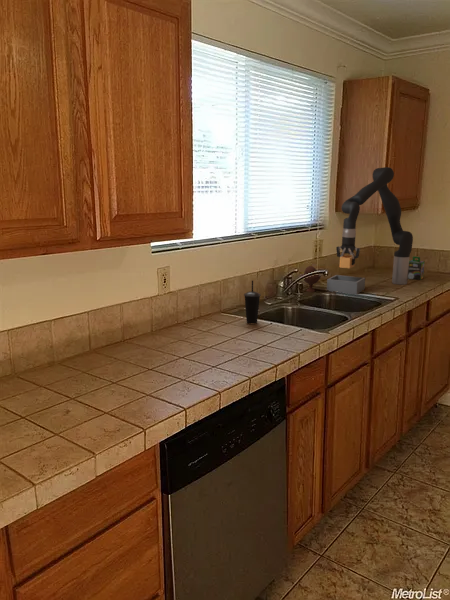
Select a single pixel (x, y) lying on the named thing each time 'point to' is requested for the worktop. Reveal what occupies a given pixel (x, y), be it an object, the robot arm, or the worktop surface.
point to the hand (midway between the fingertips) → (347, 264)
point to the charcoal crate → (346, 284)
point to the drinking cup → (252, 305)
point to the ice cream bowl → (311, 278)
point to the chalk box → (416, 269)
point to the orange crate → (346, 261)
